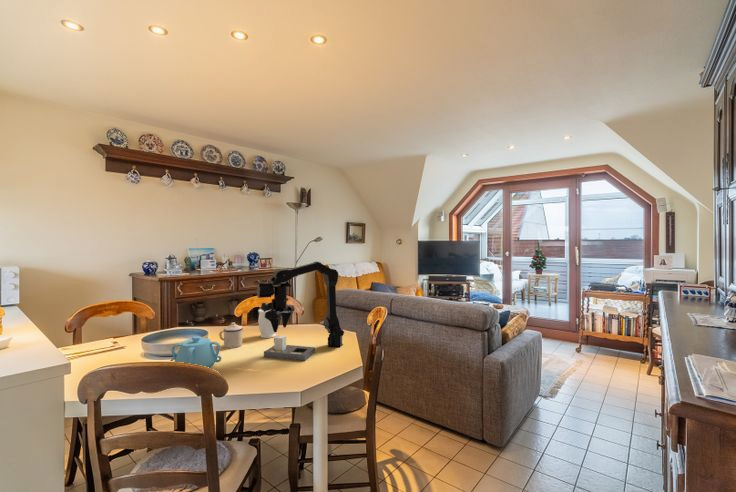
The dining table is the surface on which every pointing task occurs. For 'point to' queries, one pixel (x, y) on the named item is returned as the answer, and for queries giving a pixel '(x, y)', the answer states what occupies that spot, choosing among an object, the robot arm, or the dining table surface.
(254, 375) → the dining table surface
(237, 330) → the teacup with lid
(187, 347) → the decorative pot
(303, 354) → the grey socket board
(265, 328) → the jar
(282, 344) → the plug
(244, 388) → the dining table surface
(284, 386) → the dining table surface
